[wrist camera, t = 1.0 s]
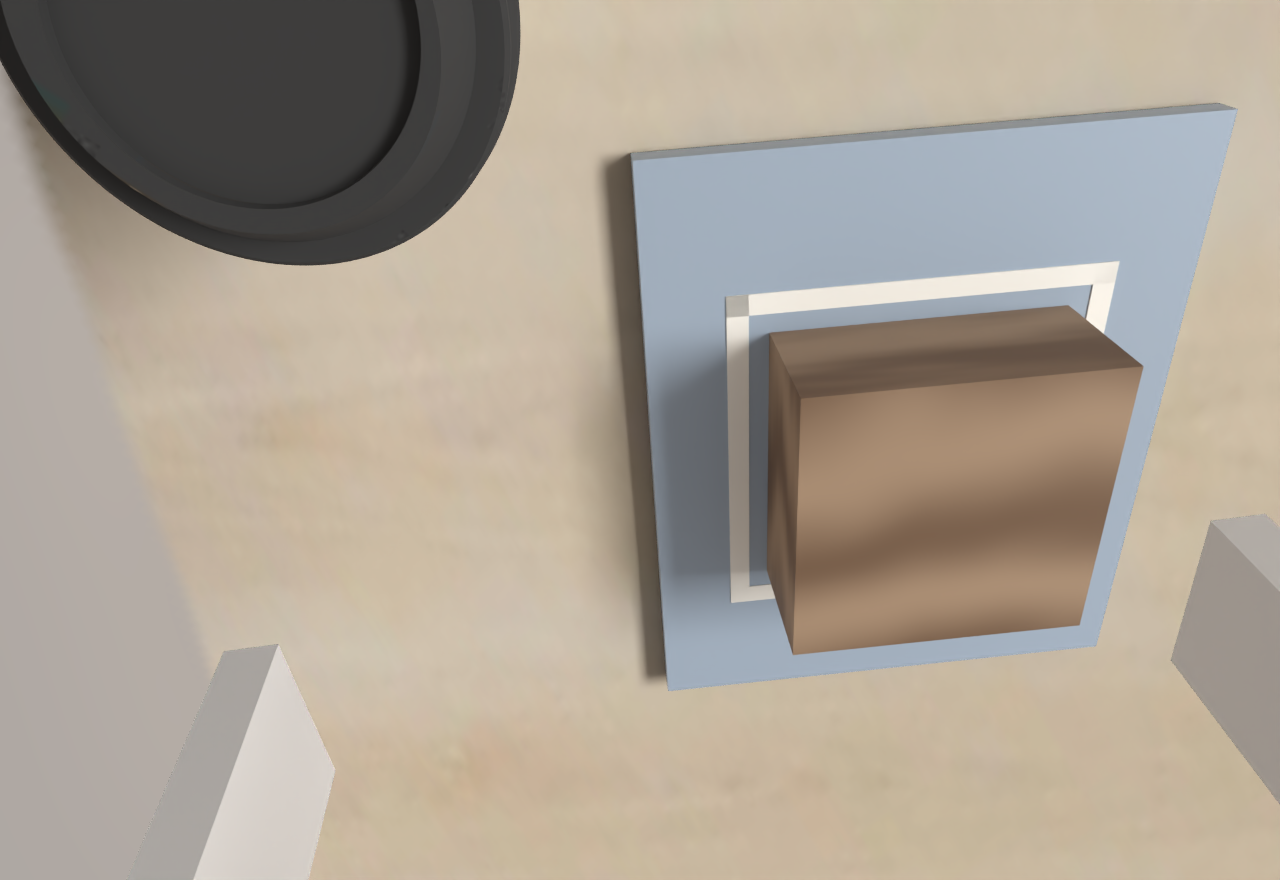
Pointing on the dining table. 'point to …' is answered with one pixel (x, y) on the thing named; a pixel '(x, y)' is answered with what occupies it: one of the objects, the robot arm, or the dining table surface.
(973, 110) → the dining table surface
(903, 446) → the walnut base block
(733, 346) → the board
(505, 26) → the coffee cup
